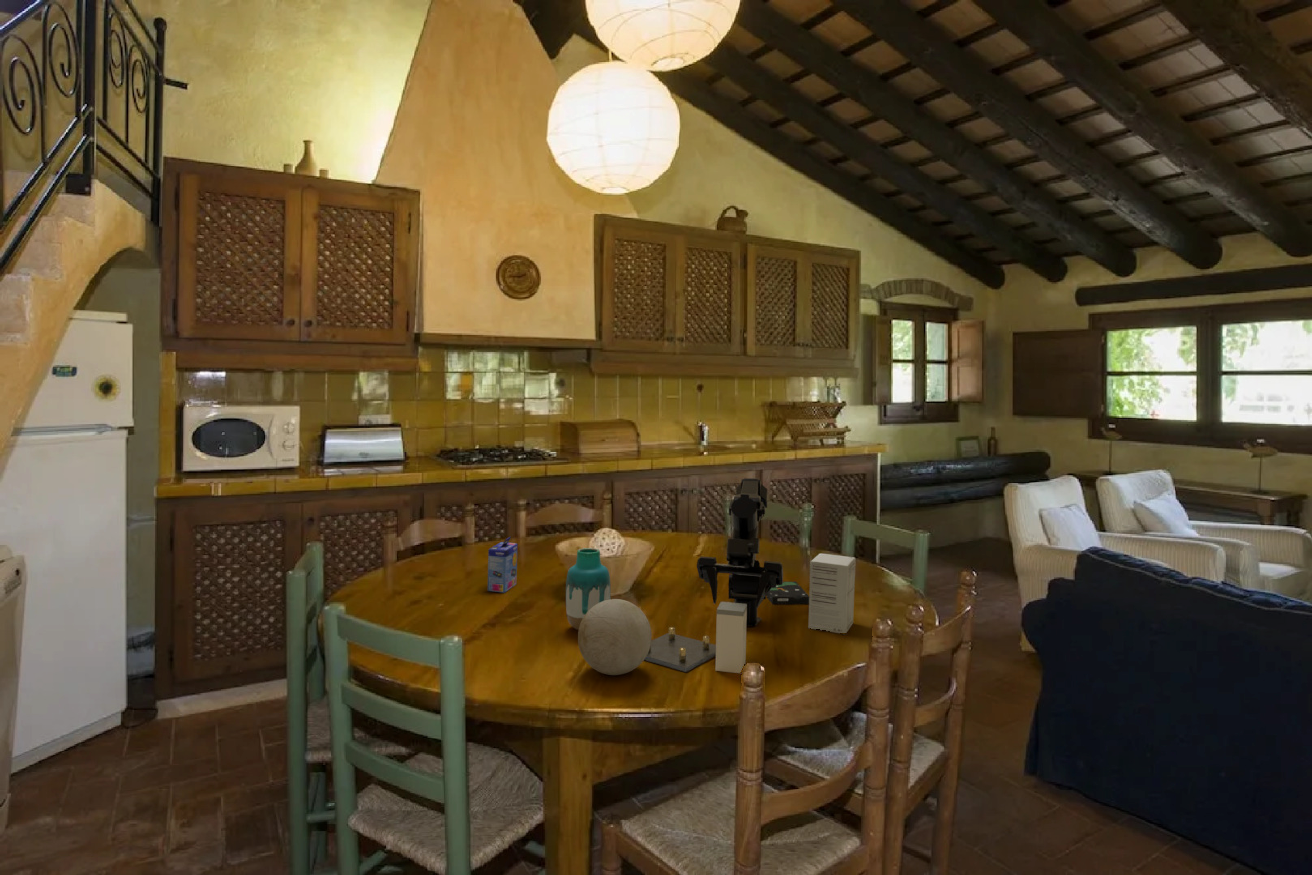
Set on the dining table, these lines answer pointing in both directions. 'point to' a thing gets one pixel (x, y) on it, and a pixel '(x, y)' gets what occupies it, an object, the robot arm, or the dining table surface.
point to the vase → (586, 585)
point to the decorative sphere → (614, 637)
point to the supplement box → (831, 593)
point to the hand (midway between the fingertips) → (735, 604)
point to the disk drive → (788, 594)
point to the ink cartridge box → (502, 566)
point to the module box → (731, 637)
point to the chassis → (680, 651)
